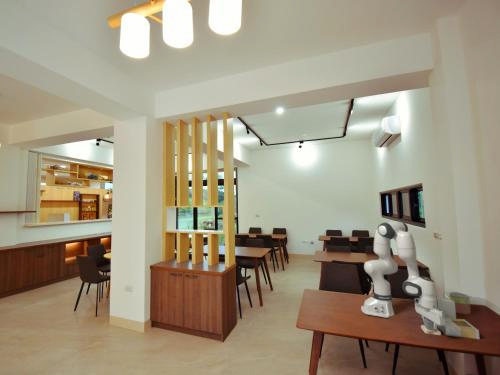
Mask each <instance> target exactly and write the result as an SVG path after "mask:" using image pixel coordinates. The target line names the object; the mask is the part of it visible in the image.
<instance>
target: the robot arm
mask: <svg viewBox="0 0 500 375" xmlns="http://www.w3.org/2000/svg"><path fill="white" fill-rule="evenodd" d="M408 231H409V227H408V225H407V224H406V223H405V222H403V221H400V220H397V221H396V220H395V221H392V220H391V221H387V222H382V223H379V225H378V226H377V229H376V230H375V233H374V237H373V238H374V239H373V252H374V254H376V255H377V256H378V259H370V260H368V261H365V262H364V264H363V269H364V271H365V273H366V274H368V276H370V277H371V280H372V284H373V290H374V291H372V290H370V291H369V294H371V296H370V297H368V298H367V299H365V300H364V303H363V305H361V307H360V310H361V311H362V313H363V314H365V315H367V316H368V315H370V316H373V317H374V316H375V317H382V318H387V319H389V318H390V317H393V316H394V315H395V312H394V309H393V303H392V302H393V298H392V293H391V283H390V282H389V281H388V280H387V279H385V278H384V275H392V274H395V273H397V272H398V270H399V268H398V267H399V266H398V264H397V262H396V261H395V260H394V259H393V258H392V254H391V244H392V242H391V241H392V240H394V241H395V246H396V252H397V255H398V257H399V259H400V260H402V261H404V263H405V265H406V267H407V268H406V269H407V274H408V278H407V279H406V280H405V281H403V283H402V284H401V285H402V286H401V288H402V290H403V292H404V294H406V295H408V296H411V297H413V296H414V297H415V298H414V309H415V310H414V311H415V312H416V313H418V314H419V315H421V318H422V320H423V322H424V318H428V319H429V320H431V321H433V323H434V325H432V327H433V329H438V327H437V326H438V325H439V326H444V325H445V318H444V314H443V312H442V311H441V310H440V309H438V298H437V288H436V286H437V285H436V283H435V281H434V280H433V279H432V278H430V277H428V276H423V275H422V276H421V274H420V271H419V267H418V262H417V260H418V259H417V249H416V248H417V247H416V243H415V239H414V237H413V235H412V233H411V232H408Z"/></svg>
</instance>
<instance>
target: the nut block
mask: <svg viewBox="0 0 500 375" xmlns="http://www.w3.org/2000/svg"><path fill="white" fill-rule="evenodd" d="M423 325H424V326H425V327H426V328H427V330H435V331H437V329H438V328H437V329H433V327H432V325H434V323H433V321H431V320H429V319H428V318H424V321H423Z"/></svg>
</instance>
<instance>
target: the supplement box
mask: <svg viewBox="0 0 500 375" xmlns="http://www.w3.org/2000/svg"><path fill="white" fill-rule="evenodd" d="M437 308H438V309H440V310H441V311H442V312H443V314H444V318H454V319H457V314H456V313H457V312H455V302H454V301H452V300H451V299H450V297H437Z"/></svg>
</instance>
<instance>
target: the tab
mask: <svg viewBox="0 0 500 375" xmlns="http://www.w3.org/2000/svg"><path fill="white" fill-rule="evenodd" d="M420 329H421V330H422V331H423V332H424V333H425V334H427V335H435V336H436V335H437V336H442V333H441V332H442V331H441V330H440V329H439V328H437V331H435V330H427V328H426V327H425V326H424V324H421V325H420Z"/></svg>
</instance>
